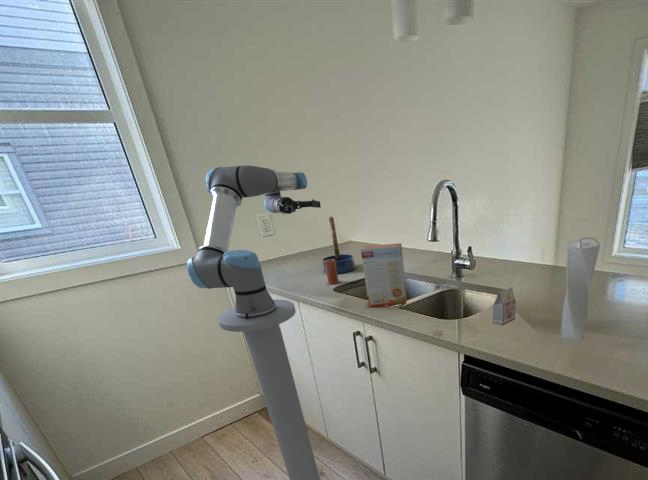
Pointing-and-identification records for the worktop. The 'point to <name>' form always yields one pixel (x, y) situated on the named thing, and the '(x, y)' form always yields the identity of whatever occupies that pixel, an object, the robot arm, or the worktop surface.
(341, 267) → the bowl
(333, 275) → the orange tall cylinder
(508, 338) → the worktop surface
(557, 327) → the worktop surface
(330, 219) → the stirring stick
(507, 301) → the milk carton
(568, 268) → the skyscraper
